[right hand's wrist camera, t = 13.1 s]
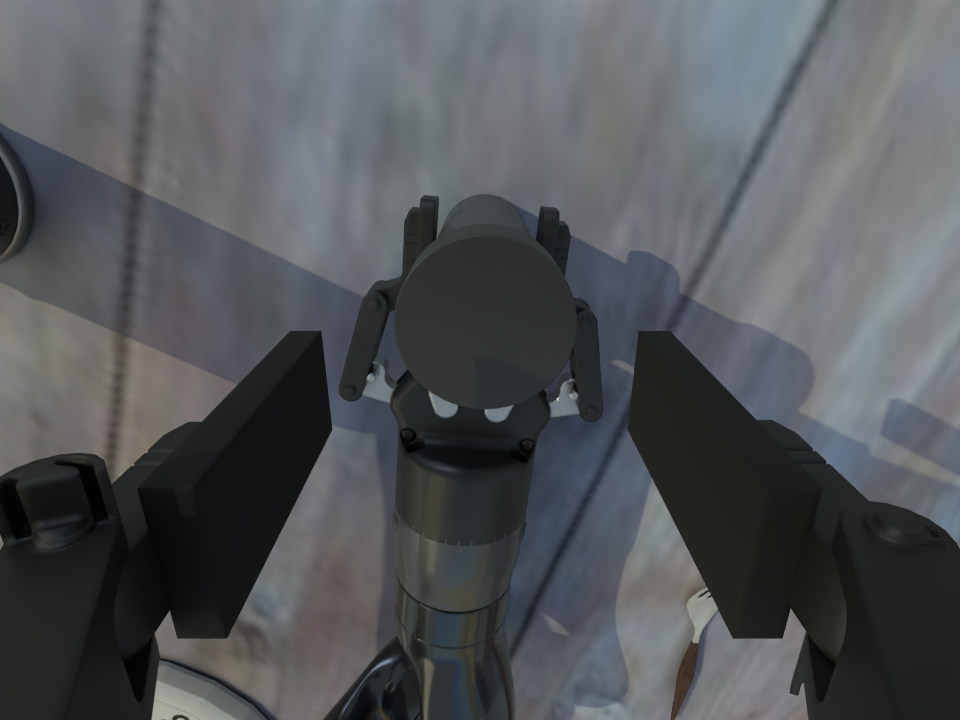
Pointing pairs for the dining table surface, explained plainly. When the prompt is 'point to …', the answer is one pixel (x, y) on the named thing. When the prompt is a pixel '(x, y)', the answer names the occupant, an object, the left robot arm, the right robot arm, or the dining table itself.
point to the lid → (485, 317)
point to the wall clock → (196, 698)
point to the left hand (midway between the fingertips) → (490, 205)
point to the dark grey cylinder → (484, 214)
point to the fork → (692, 644)
